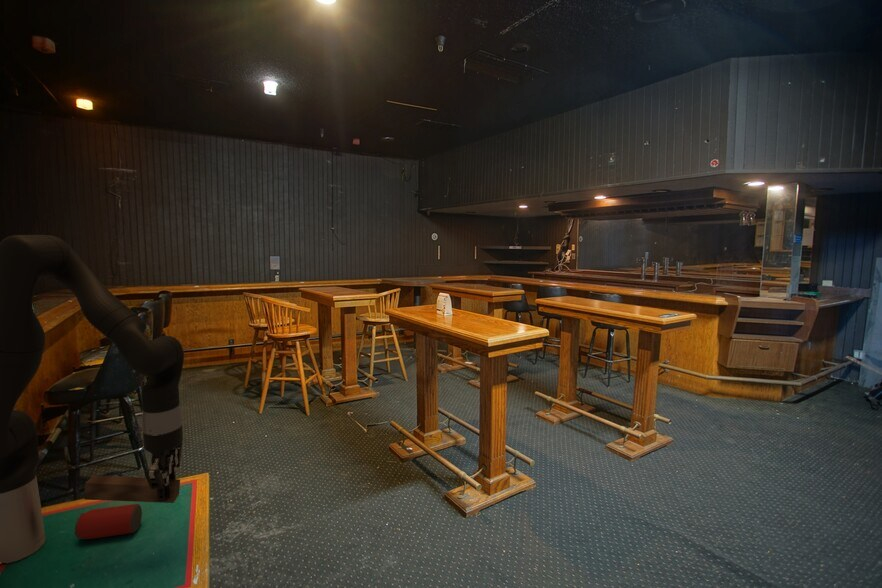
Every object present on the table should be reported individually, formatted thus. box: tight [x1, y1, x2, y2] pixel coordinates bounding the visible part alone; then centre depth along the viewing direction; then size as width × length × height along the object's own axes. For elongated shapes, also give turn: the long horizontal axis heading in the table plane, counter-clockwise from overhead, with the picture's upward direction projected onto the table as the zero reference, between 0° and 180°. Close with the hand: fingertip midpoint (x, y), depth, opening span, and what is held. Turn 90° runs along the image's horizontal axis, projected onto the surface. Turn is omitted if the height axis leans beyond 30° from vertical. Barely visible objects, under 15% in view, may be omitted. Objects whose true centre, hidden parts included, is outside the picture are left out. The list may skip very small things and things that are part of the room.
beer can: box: [74, 503, 143, 540], centre depth 106 cm, size 7×7×12 cm
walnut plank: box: [84, 474, 181, 504], centre depth 98 cm, size 18×3×4 cm, turn 101°
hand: (167, 494), depth 99 cm, fingers closed on walnut plank, 3 cm apart
